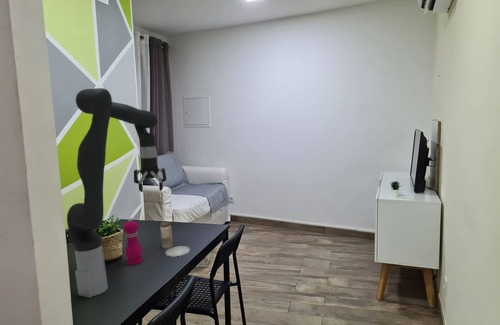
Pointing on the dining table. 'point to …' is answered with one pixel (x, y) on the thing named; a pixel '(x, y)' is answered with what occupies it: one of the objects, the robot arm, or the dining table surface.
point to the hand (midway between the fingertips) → (151, 191)
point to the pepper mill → (132, 243)
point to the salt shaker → (166, 235)
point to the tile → (177, 251)
